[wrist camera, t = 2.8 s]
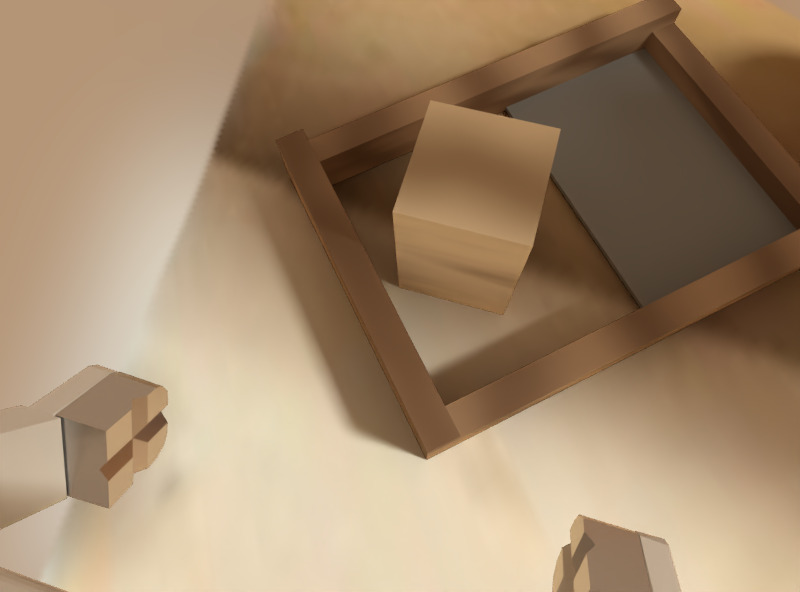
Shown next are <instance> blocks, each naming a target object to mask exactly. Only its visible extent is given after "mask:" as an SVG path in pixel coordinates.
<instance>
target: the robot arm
mask: <svg viewBox="0 0 800 592" xmlns="http://www.w3.org/2000/svg"><path fill="white" fill-rule="evenodd" d="M167 405H168V393H167V390H166V389H165V388H164V387H163V386H160V385H157V384H154V383H151V382H148V381H145V380H142V379H139V378H137V377H134V376H131V375H128V374H125V373H122V372H117V371H114V370H111V369H108V368H105V367H102V366H99V365H92V366H88V367H87V368H85V369H84V370H82V371H81V372H79V373H78V374H77V375H75V376H73V377H72V378H70V379H69V380H68V381H66V382H65V383H63V384H62V385H60V386H59V387H57V388H56V389H55V390H53V391H52V392H50V393H49V394H47V395H46V396H44V397H43V398H42V399H40V400H39V401H37V402H36V403H34V404H33V405H31V406H30V407H25V406H21V405H20V406H16V407H12V408H8V409H4V410H0V529H3V528H5V527H7V526H9V525H11V524H13V523H15V522H17V521H20V520H22V519H24V518H26V517H28V516H30V515H32V514H35V513H37V512H39V511H41V510H43V509H45V508H47V507H50V506H52V505H54V504H56V503H58V502H60V501H62V500H65V499H67V496H70V497H73V498H76V499H80V500H83V501H86V502H89V503H93V504H96V505H99V506H102V507H106V508H110V507H111V506H112V505H113V504H114V503H115V502H116V501H117V500H118V499H119V498H120V497H121V496H122V495H123V494H124V493H125V492H126V491H127V490H128V488H129V487H130V486H131V485H132V484H133V473H136V472H139V471H141V470H144V469H147V468H148V467H149V466H150V465H151V464H152V463H153V462H154V461H155V459H156V458H157V457H158V455H159V453H160V451H161V449H162V447H163V446H164V443H165V439H166V435H167V424H168V423H167V421H166V419H165V418H164V416H163V414H162V413H161V411H162V410H163V409H164V408H165V407H166V406H167ZM570 538H571V543H570V544H568V545H566V546H564V547H562V549H561V552H560V554H559V557H558V559H557V563H556V567H555V571H554V576H553V587H552V592H682V591H681V587H680V584H679V580H678V577H677V573H676V570H675V566H674V562H673V559H672V555H671V552H670V548H669V544H668V543H667V542H666V541H665V539H662V538H658V537H655V536H651V535H648V534H644V533H641V532H637V531H635V532H634V531H632V530H629V529H625V528H622V527H619V526H615V525H612V524H609V523H605V522H602V521H599V520H595V519H592V518H589V517H586V516H582V515H578V516H577V518H576V519H575V520H574V522H573V524H572V527H571V529H570ZM0 592H68V591H65V590H62V589H59V588H57V587H54V586H51V585H48V584H46V583H43V582H40V581H37V580H34V579H32V578H29V577H26V576H23V575H21V574H18V573H15V572H13V571H10V570H7V569H4V568H2V567H0Z"/></svg>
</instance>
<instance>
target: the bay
mask: <svg viewBox="0 0 800 592" xmlns="http://www.w3.org/2000/svg"><path fill="white" fill-rule="evenodd" d="M680 11H681V8H680V7H679V5H678V4H677V3H676V2H675V1H674V0H644V1H641V2H639V3H636V4H634V5H632V6H629V7H627V8H624V9H622V10H620V11H617V12H615V13H612V14H610V15H608V16H605V17H603V18H600V19H598V20H596V21H593V22H591V23H588V24H586V25H584V26H581V27H579V28H576V29H574V30H572V31H569V32H567V33H564V34H562V35H560V36H557V37H555V38H552V39H550V40H548V41H545V42H543V43H540V44H538V45H536V46H533V47H531V48H528V49H526V50H524V51H521V52H519V53H516V54H514V55H512V56H509V57H507V58H504V59H502V60H500V61H497V62H495V63H492V64H490V65H488V66H485V67H483V68H480V69H478V70H476V71H473V72H471V73H468V74H466V75H464V76H461V77H459V78H456V79H454V80H451V81H449V82H447V83H444V84H442V85H439V86H437V87H435V88H432V89H430V90H427V91H425V92H423V93H420V94H418V95H415V96H413V97H411V98H408V99H406V100H403V101H401V102H399V103H396V104H394V105H391V106H389V107H387V108H384V109H382V110H379V111H377V112H375V113H372V114H370V115H367V116H365V117H363V118H360V119H358V120H355V121H353V122H351V123H348V124H346V125H343V126H341V127H339V128H336V129H334V130H331V131H329V132H327V133H324V134H322V135H319V136H317V137H315V138H312V139H310V140H308V138H307V136H306V134H305V132H304V130H303V129H301V130H299V131H297V132H294V133H292V134H289V135H287V136H284V137H282V138H280V139H277V140H276V143H277V146H278V148H279V151H280V153H281V156H282V159H283V161H284V164H285V166H286V169H287V171H288V174H289V177H290V179H291V181H292V183H293V185H294V187H295V189H296V191H297V193H298V196H299V198H300V200H301V202H302V204H303V206H304V208H305V210H306V212H307V214H308V216H309V218H310V220H311V222H312V224H313V226H314V228H315V231H316V233H317V235H318V237H319V239H320V241H321V243H322V245H323V247H324V249H325V251H326V253H327V255H328V257H329V259H330V261H331V264H332V266H333V268H334V270H335V272H336V274H337V276H338V278H339V280H340V282H341V284H342V286H343V288H344V290H345V292H346V294H347V297H348V299H349V301H350V303H351V305H352V307H353V309H354V311H355V313H356V315H357V317H358V319H359V321H360V323H361V325H362V327H363V330H364V332H365V334H366V336H367V338H368V340H369V342H370V344H371V346H372V348H373V350H374V352H375V354H376V356H377V358H378V360H379V362H380V365H381V367H382V369H383V371H384V373H385V375H386V377H387V379H388V381H389V383H390V385H391V387H392V389H393V391H394V393H395V395H396V398H397V400H398V402H399V404H400V406H401V408H402V410H403V412H404V414H405V416H406V418H407V420H408V422H409V424H410V426H411V428H412V431H413V433H414V435H415V437H416V439H417V441H418V443H419V445H420V447H421V449H422V451H423V453H424V455H425V457H426V459H429V458H431V457H433V456H435V455H437V454H439V453H441V452H443V451H445V450H447V449H449V448H451V447H453V446H455V445H457V444H459V443H461V442H462V441H464V440H466V439H468V438H470V437H472V436H474V435H476V434H478V433H480V432H482V431H484V430H486V429H488V428H490V427H492V426H494V425H496V424H498V423H500V422H502V421H504V420H506V419H508V418H510V417H511V416H513V415H515V414H517V413H519V412H521V411H523V410H525V409H527V408H529V407H531V406H533V405H535V404H537V403H539V402H541V401H543V400H545V399H547V398H549V397H551V396H553V395H555V394H557V393H559V392H560V391H562V390H564V389H566V388H568V387H570V386H572V385H574V384H576V383H578V382H580V381H582V380H584V379H586V378H588V377H590V376H592V375H594V374H596V373H598V372H600V371H602V370H604V369H606V368H607V367H609V366H611V365H613V364H615V363H617V362H619V361H621V360H623V359H625V358H627V357H629V356H631V355H633V354H635V353H637V352H639V351H641V350H643V349H645V348H647V347H649V346H651V345H653V344H655V343H656V342H658V341H660V340H662V339H664V338H666V337H668V336H670V335H672V334H674V333H676V332H678V331H680V330H682V329H684V328H686V327H688V326H690V325H692V324H694V323H696V322H698V321H700V320H702V319H704V318H705V317H707V316H709V315H711V314H713V313H715V312H717V311H719V310H721V309H723V308H725V307H727V306H729V305H731V304H733V303H735V302H737V301H739V300H741V299H743V298H745V297H747V296H749V295H751V294H753V293H754V292H756V291H758V290H760V289H762V288H764V287H766V286H768V285H770V284H772V283H774V282H776V281H778V280H780V279H782V278H784V277H786V276H788V275H790V274H792V273H794V272H796V271H798V270H800V165H799V164H798V163H797V162H796V161H795V160H794V159H793V158H792V156H791V155H790V154H789V153H788V152H787V151H786V150H785V148H784V147H783V146H782V145H781V144H780V143H779V142H778V140H777V139H776V138H775V137H774V136H773V135H772V134H771V133H770V131H769V130H768V129H767V128H766V127H765V126H764V125H763V123H762V122H761V121H760V120H759V119H758V118H757V117H756V115H755V114H754V113H753V112H752V111H751V110H750V109H749V108H748V106H747V105H746V104H745V103H744V102H743V101H742V100H741V98H740V97H739V96H738V95H737V94H736V93H735V92H734V90H733V89H732V88H731V87H730V86H729V85H728V84H727V83H726V81H725V80H724V79H723V78H722V77H721V76H720V75H719V73H718V72H717V71H716V70H715V69H714V68H713V67H712V65H711V64H710V63H709V62H708V61H707V60H706V59H705V58H704V56H703V55H702V54H701V53H700V52H699V51H698V50H697V48H696V47H695V46H694V45H693V44H692V43H691V42H690V40H689V39H688V38H687V37H686V36H685V35H684V34H683V33H682V31H681V30H680V29H679V28H678V27H677V26H676V25H675V23H674V22H675V20H676V18H677V16H678V14H679V12H680ZM430 100H432V101H437V102H441V103H446V104H450V105H455V106H459V107H464V108H468V109H473V110H477V111H482V112H486V113H491V114H496V115H497V114H499V113H501V112H504V111H506V112H507V114H508V115H509V117H510V118H514V119H518V120H523V121H527V122H532V123H536V124H541V125H545V126H550V127H555V128H559V129H561V131H560V135H559V139H558V143H557V147H556V151H555V156H554V160H553V164H552V168H551V172H550V177H551V178H552V180H553V181H554V182H555V184H556V185H557V187H558V188H559V190H560V191H561V193H562V194H563V196H564V197H565V199H566V200H567V201H568V203H569V204H570V206H571V207H572V209H573V210H574V212H575V213H576V215H577V216H578V218H579V219H580V220H581V222H582V223H583V225H584V226H585V228H586V229H587V231H588V232H589V234H590V235H591V237H592V238H593V239H594V241H595V242H596V244H597V245H598V247H599V248H600V250H601V251H602V253H603V254H604V256H605V257H606V259H607V260H608V261H609V263H610V264H611V266H612V267H613V269H614V270H615V272H616V273H617V275H618V276H619V278H620V279H621V280H622V282H623V283H624V285H625V286H626V288H627V289H628V291H629V292H630V294H631V295H632V297H633V298H634V299H635V301H636V302H637V304H638V305H639V307H640V309H638V310H636V311H634V312H632V313H630V314H628V315H626V316H624V317H622V318H620V319H618V320H616V321H614V322H612V323H610V324H608V325H606V326H604V327H602V328H600V329H598V330H596V331H594V332H592V333H590V334H588V335H586V336H584V337H582V338H580V339H578V340H576V341H574V342H572V343H570V344H568V345H566V346H564V347H562V348H560V349H558V350H556V351H554V352H552V353H550V354H548V355H546V356H544V357H542V358H540V359H538V360H536V361H534V362H532V363H530V364H528V365H526V366H524V367H522V368H520V369H518V370H516V371H514V372H512V373H510V374H508V375H506V376H504V377H502V378H500V379H498V380H496V381H494V382H492V383H490V384H488V385H486V386H484V387H482V388H480V389H478V390H476V391H474V392H472V393H470V394H468V395H466V396H464V397H462V398H460V399H458V400H456V401H454V402H452V403H450V404H448V405H446V406H445V405H444V403H443V401H442V399H441V397H440V395H439V393H438V391H437V389H436V387H435V385H434V383H433V381H432V379H431V377H430V376H429V374H428V372H427V370H426V368H425V366H424V364H423V362H422V360H421V358H420V356H419V354H418V352H417V350H416V348H415V346H414V344H413V342H412V341H411V339H410V337H409V335H408V333H407V331H406V329H405V327H404V325H403V323H402V321H401V319H400V317H399V315H398V313H397V311H396V309H395V307H394V306H393V304H392V302H391V300H390V298H389V296H388V294H387V292H386V290H385V288H384V286H383V284H382V282H381V280H380V278H379V276H378V274H377V272H376V270H375V269H374V267H373V265H372V263H371V261H370V259H369V257H368V255H367V253H366V251H365V249H364V247H363V245H362V243H361V241H360V239H359V237H358V235H357V234H356V232H355V230H354V228H353V226H352V224H351V222H350V220H349V218H348V216H347V214H346V212H345V210H344V208H343V206H342V204H341V202H340V200H339V198H338V197H337V195H336V193H335V191H334V189H333V187H332V185H334V184H336V183H338V182H341V181H343V180H345V179H348V178H350V177H352V176H355V175H357V174H359V173H362V172H364V171H366V170H369V169H371V168H373V167H376V166H378V165H380V164H383V163H385V162H387V161H390V160H392V159H394V158H397V157H399V156H401V155H404V154H406V153H408V152H411V151H413V150H414V147H415V144H416V141H417V138H418V135H419V132H420V129H421V127H422V124H423V121H424V118H425V115H426V112H427V109H428V106H429V103H430Z"/></svg>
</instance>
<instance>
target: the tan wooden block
mask: <svg viewBox="0 0 800 592" xmlns="http://www.w3.org/2000/svg"><path fill="white" fill-rule="evenodd" d="M560 131H561V129H559V128H555V127H550V126H545V125H541V124H536V123H532V122H527V121H523V120H518V119H514V118H509V117H505V116H500V115H496V114H491V113H486V112H482V111H477V110H473V109H468V108H464V107H459V106H455V105H450V104H446V103H441V102H437V101H432V100H430V103H429V106H428V109H427V112H426V115H425V118H424V121H423V124H422V127H421V129H420V132H419V135H418V138H417V141H416V144H415V147H414V150H413V153H412V156H411V159H410V162H409V165H408V168H407V171H406V173H405V176H404V179H403V182H402V185H401V188H400V191H399V194H398V197H397V200H396V203H395V206H394V209H393V224H394V235H395V246H396V258H397V269H398V281H399V287H400V288H404V289H407V290H411V291H415V292H419V293H422V294H426V295H430V296H434V297H437V298H441V299H445V300H449V301H452V302H456V303H460V304H464V305H468V306H471V307H475V308H479V309H483V310H486V311H490V312H494V313H498V314H501V315H503V314H504V312H505V309H506V307H507V305H508V302H509V300H510V298H511V295H512V293H513V291H514V289H515V286H516V284H517V282H518V279H519V277H520V275H521V273H522V270H523V268H524V266H525V263H526V261H527V259H528V256H529V254H530V252H531V250H532V247H533V244H534V239H535V235H536V231H537V227H538V223H539V218H540V214H541V210H542V206H543V202H544V198H545V193H546V189H547V185H548V181H549V177H550V172H551V168H552V164H553V160H554V156H555V151H556V147H557V143H558V139H559V135H560Z"/></svg>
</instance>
